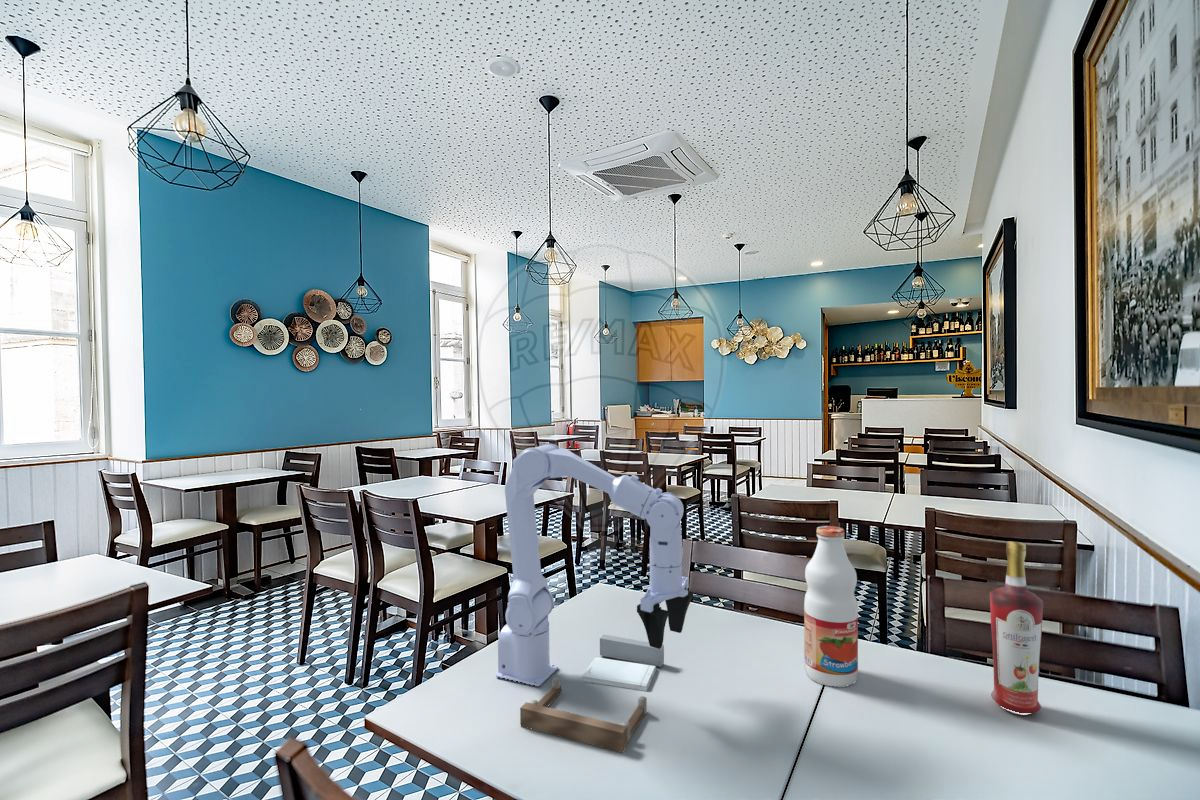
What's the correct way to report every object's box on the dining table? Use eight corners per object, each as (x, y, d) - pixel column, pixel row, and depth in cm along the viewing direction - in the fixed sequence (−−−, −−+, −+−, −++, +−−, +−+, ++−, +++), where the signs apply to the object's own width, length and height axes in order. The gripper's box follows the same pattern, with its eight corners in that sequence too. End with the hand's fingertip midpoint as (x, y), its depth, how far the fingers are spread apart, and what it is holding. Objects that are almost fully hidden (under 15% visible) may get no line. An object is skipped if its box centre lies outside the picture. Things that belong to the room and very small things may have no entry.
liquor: (1036, 702, 98) (1036, 540, 98) (1048, 724, 92) (1049, 551, 91) (985, 693, 101) (985, 536, 101) (993, 714, 95) (994, 546, 94)
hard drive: (581, 675, 107) (646, 684, 103) (595, 656, 115) (656, 664, 111) (581, 684, 107) (646, 693, 103) (595, 664, 115) (656, 672, 111)
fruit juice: (830, 660, 114) (830, 520, 114) (869, 682, 106) (869, 531, 105) (793, 669, 111) (793, 525, 110) (830, 693, 102) (830, 537, 101)
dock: (520, 726, 93) (520, 707, 93) (554, 690, 104) (554, 674, 104) (622, 752, 86) (622, 732, 86) (647, 711, 97) (647, 694, 96)
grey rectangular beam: (599, 655, 117) (599, 638, 117) (603, 651, 118) (603, 634, 118) (661, 666, 111) (660, 649, 111) (664, 662, 113) (663, 644, 113)
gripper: (666, 578, 93) (666, 660, 94) (703, 556, 105) (703, 629, 106) (629, 570, 98) (630, 649, 98) (669, 550, 109) (669, 621, 110)
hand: (666, 638), depth 102 cm, fingers open, 7 cm apart
